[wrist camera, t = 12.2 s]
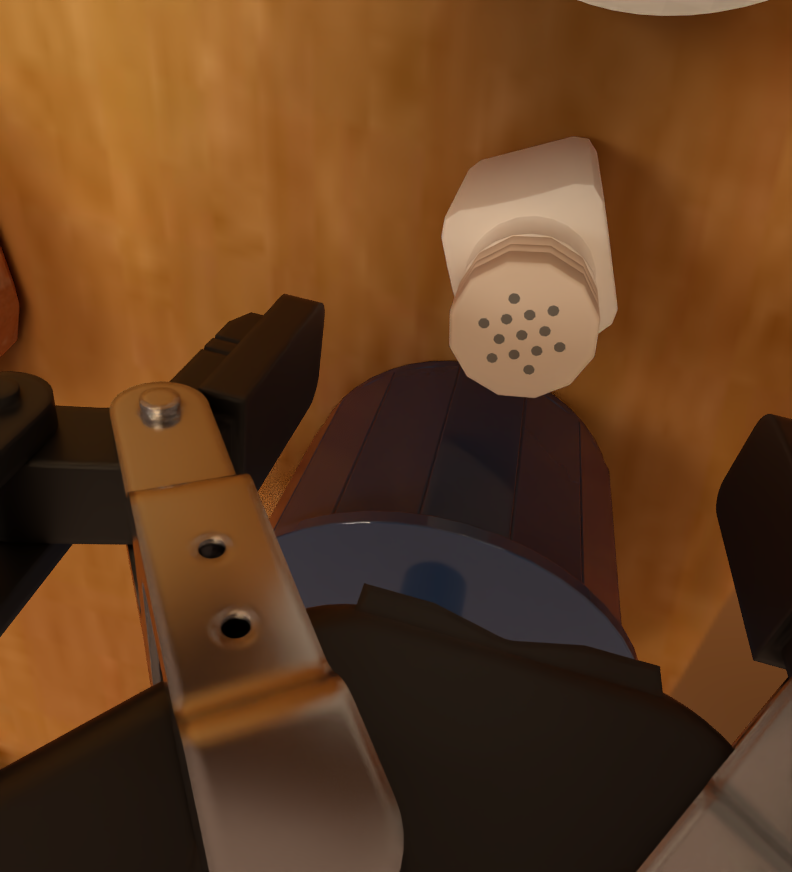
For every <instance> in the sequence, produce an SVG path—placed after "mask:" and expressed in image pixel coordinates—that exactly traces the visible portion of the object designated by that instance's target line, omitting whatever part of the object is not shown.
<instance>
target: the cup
mask: <svg viewBox="0 0 792 872" xmlns="http://www.w3.org/2000/svg"><path fill="white" fill-rule="evenodd" d="M579 1H582V2H585V3H587V4H590V5H594V6H598V7H602V8H606V9H610V10H614V11H620V12H627V13H633V14H641V15H657V16H681V15H697V14H706V13H715V12H721V11H726V10H731V9H736V8H742V7H746V6H750V5H753V4H757V3H761V2H764V1H768V0H579Z"/></svg>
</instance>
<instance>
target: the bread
mask: <svg viewBox="0 0 792 872" xmlns="http://www.w3.org/2000/svg"><path fill="white" fill-rule="evenodd" d="M18 320H19V301H18V298H17V294H16V290H15V286H14V282H13V279H12V276H11V274H10V271H9V268H8V265H7V263H6V260H5V257H4V254H3V252H2V249H1V246H0V357H1V356H2V355H3V354H4V353H5V352H6V351H7V350H8V349H9V348H10V347H11V346H12V345H13V344H14V343H15V342H16V341H17V336H18Z"/></svg>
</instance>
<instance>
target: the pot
mask: <svg viewBox="0 0 792 872" xmlns="http://www.w3.org/2000/svg"><path fill="white" fill-rule="evenodd" d="M366 510H371V511H401V512H408V513H416V514H423V515H431V516H436V517H440V518H445V519H449V520H453V521H458V522H462V523H466V524H469V525H472V526H475V527H478V528H481V529H484V530H487V531H490V532H493V533H496V534H499V535H501V536H504V537H506V538H508V539H510V540H512V541H515V542H517V543H519V544H521V545H523V546H525V547H528V548H530V549H532V550H534V551H535V552H537V553H539V554H540V555H542V556H544V557H545V558H547V559H549V560H551V561H552V562H554V563H556V564H557V565H559V566H561V567H562V568H563V569H564V570H566V571H567V572H568V573H570V574H571V575H572V576H574V577H575V578H576V579H578V580H579V581H580V582H582V583H583V584H584V585H585V586H586V587H588V588H589V589H590V590H591V591H592V592H593V593H594V594H595V595H596V596H597V597H598V598H599V599H600V600H601V601H602V602H603V603H604V604H605V605H606V606H607V608H608V609H609V610H610V611H611V613H612V614H613V615H614V617H615V618H616V619H617V620H618V622H619V623H620V624H621V613H620V600H619V588H618V575H617V563H616V550H615V538H614V525H613V513H612V500H611V488H610V475H609V470H608V467H607V466H606V464H605V462H604V459H603V455H602V453H601V451H600V449H599V447H598V445H597V443H596V441H595V439H594V437H593V436H592V435H591V433H590V432H589V430H588V429H587V427H586V426H585V424H584V423H583V422H582V421H581V420H580V419H579V418H578V417H577V416H576V414H575V413H574V412H573V411H572V410H571V409H570V408H569V407H568V406H566V405H565V404H564V403H563V402H561V401H560V400H559V399H558V398H557V397H555V396H554V395H553V394H551V393H550V392H549V393H547V394H544V395H541V396H539V397H536V398H529V397H517V396H505V395H497V394H496V393H494V392H492V391H491V390H489V389H487V388H486V387H484V386H482V385H481V384H479V383H477V382H476V381H474V380H472V379H471V378H469V377H467V376H466V374H465V372H464V370H463V369H462V367H461V365H460V364H459V362H458V361H429V362H423V363H416V364H409V365H406V366H402V367H399V368H395V369H391V370H389V371H386V372H384V373H381V374H379V375H377V376H374V377H372V378H371V379H369V380H367V381H366V382H364V383H362V384H361V385H359V386H357V387H356V388H355V389H353V390H352V391H351V392H350V393H349V394H347V395H346V396H345V397H344V398H343V399H342V400H341V401H340V402H339V403H338V405H337V406H336V407H335V408H334V409H333V410H332V412H331V413H330V415H329V416H328V418H327V420H326V421H325V423H324V424H323V425H322V427H321V428H320V429H319V431H318V432H317V433H316V435H315V436H314V438H313V440H312V442H311V444H310V445H309V447H308V449H307V451H306V453H305V455H304V456H303V458H302V460H301V462H300V464H299V465H298V467H297V469H296V471H295V473H294V475H293V476H292V478H291V480H290V482H289V484H288V485H287V487H286V489H285V491H284V493H283V495H282V496H281V498H280V500H279V502H278V504H277V505H276V507H275V509H274V511H273V513H272V515H271V516H270V518H269V521H270V523H271V526H272V528H273V531H276V530H278V529H280V528H282V527H284V526H287V525H290V524H293V523H296V522H299V521H302V520H305V519H308V518H312V517H317V516H323V515H328V514H333V513H340V512H353V511H366ZM621 626H622V625H621Z"/></svg>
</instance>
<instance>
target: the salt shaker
mask: <svg viewBox="0 0 792 872" xmlns="http://www.w3.org/2000/svg"><path fill="white" fill-rule="evenodd" d="M441 238H442V243H443V248H444V253H445V258H446V263H447V268H448V272H449V276H450V281H451V285H452V289H453V293H454V297H455V298H454V300H453V303H452V306H451V309H450V328H449V347H450V348H451V350H452V352H453V353H454V355H455V357H456V358H457V360H458V362H459V364H460V365H461V367H462V369H463V370H464V372H465V374H466V376H467V377H469V378H471V379H472V380H474V381H476V382H477V383H479V384H481V385H482V386H484V387H486V388H487V389H489V390H491V391H492V392H494V393H496V394H497V395H505V396H517V397H529V398H536V397H539V396H541V395H544V394H547V393H549V392H552V391H555V390H557V389H560V388H562V387H565V386H568V385H570V384H571V383H572V382H573V381H574V380H575V378H576V377H577V376H578V375H579V374H580V373H581V371H582V370H583V369H584V368H585V367H586V366H587V365H588V363H589V362H590V361H591V360H592V359H593V358H594V357H595V351H596V344H597V338H598V333H600V332H601V331H603V330H604V329H606V328H607V327H609V326H610V325H611V324H612V323H613V320H614V317H615V315H616V312H617V310H618V307H617V299H616V290H615V282H614V274H613V266H612V258H611V249H610V241H609V233H608V225H607V217H606V209H605V201H604V195H603V188H602V182H601V176H600V169H599V163H598V156H597V151H596V150H595V148H594V146H593V145H592V143H591V141H590V140H589V139H588V138H581V137H575V136H573V137H569V138H565V139H561V140H557V141H553V142H549V143H545V144H541V145H538V146H534V147H530V148H526V149H522V150H518V151H514V152H511V153H507V154H503V155H499V156H495V157H491V158H487V159H484V160H481V161H479V162H478V163H477V164H475V165H474V166H473V167H471V168H470V169H469V170H468V172H467V174H466V176H465V178H464V180H463V182H462V184H461V186H460V188H459V190H458V192H457V194H456V196H455V198H454V200H453V202H452V204H451V206H450V208H449V210H448V212H447V214H446V216H445V219H444V224H443V230H442V236H441Z"/></svg>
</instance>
